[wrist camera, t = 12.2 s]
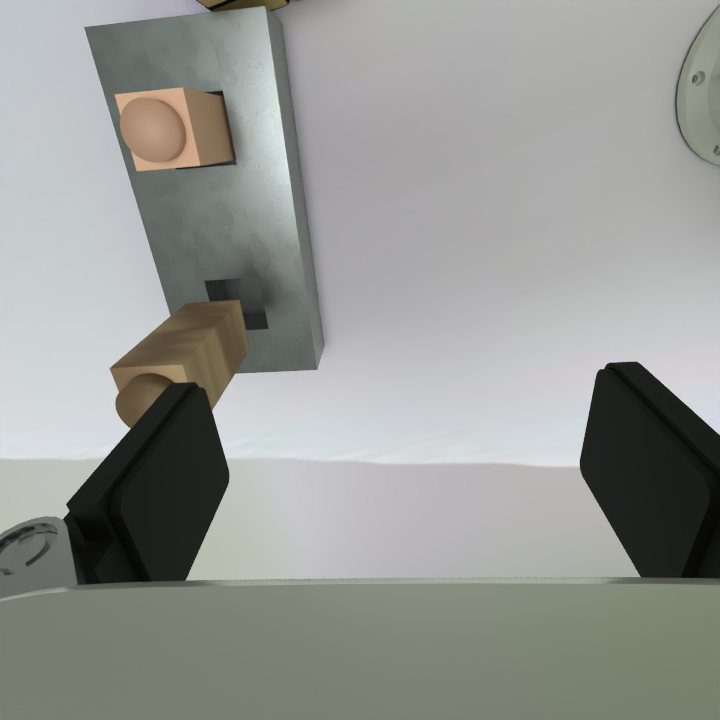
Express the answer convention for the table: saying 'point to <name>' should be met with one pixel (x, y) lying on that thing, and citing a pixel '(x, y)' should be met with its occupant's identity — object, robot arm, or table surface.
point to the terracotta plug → (175, 128)
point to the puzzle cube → (241, 4)
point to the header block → (225, 177)
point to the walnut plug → (183, 356)
